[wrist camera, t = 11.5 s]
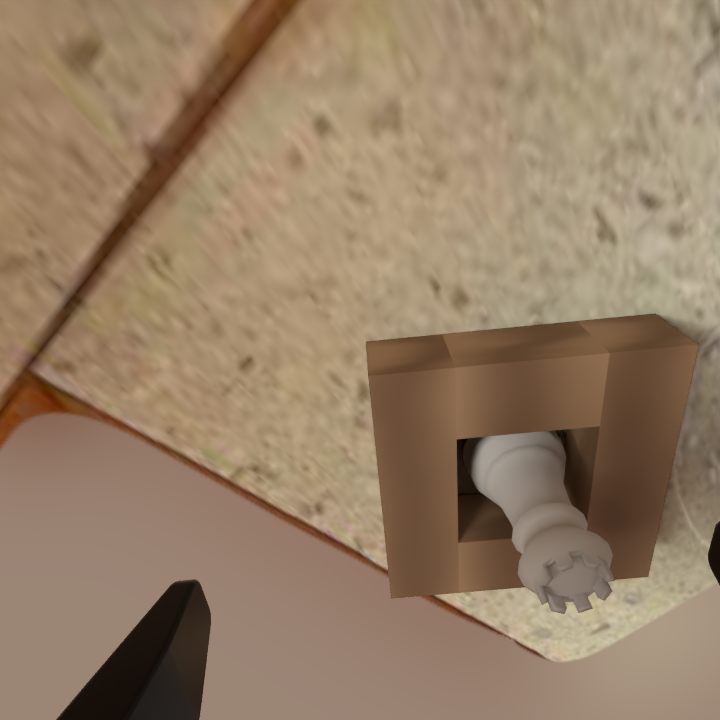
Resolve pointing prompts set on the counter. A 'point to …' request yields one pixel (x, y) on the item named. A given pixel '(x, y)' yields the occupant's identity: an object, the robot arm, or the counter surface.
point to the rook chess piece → (541, 517)
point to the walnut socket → (524, 415)
